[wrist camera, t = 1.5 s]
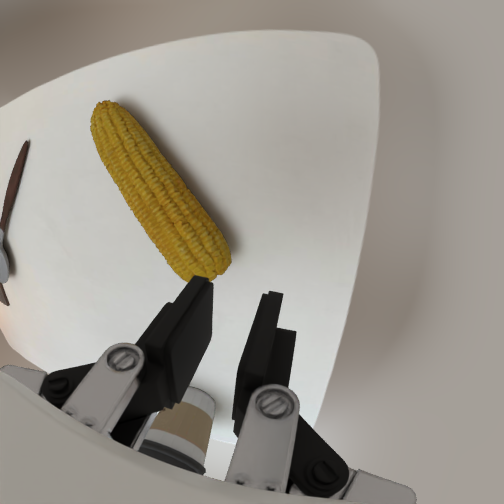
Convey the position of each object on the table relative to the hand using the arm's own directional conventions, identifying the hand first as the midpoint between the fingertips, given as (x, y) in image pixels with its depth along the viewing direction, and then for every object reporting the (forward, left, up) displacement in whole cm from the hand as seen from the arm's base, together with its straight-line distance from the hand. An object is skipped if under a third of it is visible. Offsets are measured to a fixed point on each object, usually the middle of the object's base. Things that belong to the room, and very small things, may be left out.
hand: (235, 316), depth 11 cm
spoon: (+8, -46, -17) cm, 50 cm away
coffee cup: (+35, -9, -17) cm, 40 cm away
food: (0, -12, -17) cm, 21 cm away
